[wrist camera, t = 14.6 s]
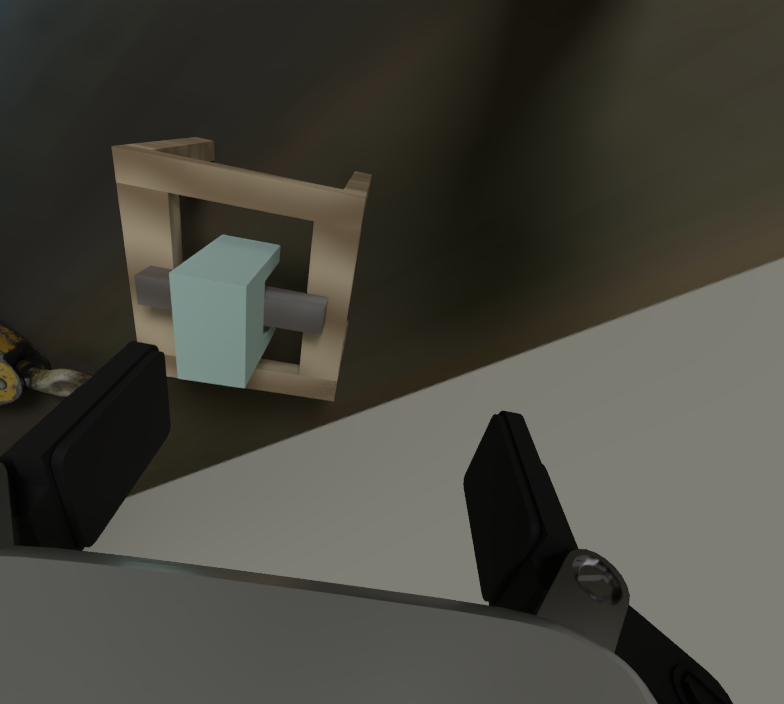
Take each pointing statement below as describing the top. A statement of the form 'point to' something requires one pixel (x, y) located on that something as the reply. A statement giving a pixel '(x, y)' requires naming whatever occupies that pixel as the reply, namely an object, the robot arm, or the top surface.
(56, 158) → the top surface
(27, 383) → the pulley block
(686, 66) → the top surface
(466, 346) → the top surface
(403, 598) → the robot arm
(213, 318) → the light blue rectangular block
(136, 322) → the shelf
